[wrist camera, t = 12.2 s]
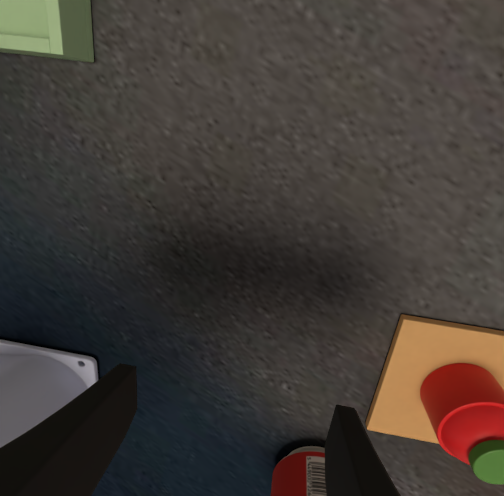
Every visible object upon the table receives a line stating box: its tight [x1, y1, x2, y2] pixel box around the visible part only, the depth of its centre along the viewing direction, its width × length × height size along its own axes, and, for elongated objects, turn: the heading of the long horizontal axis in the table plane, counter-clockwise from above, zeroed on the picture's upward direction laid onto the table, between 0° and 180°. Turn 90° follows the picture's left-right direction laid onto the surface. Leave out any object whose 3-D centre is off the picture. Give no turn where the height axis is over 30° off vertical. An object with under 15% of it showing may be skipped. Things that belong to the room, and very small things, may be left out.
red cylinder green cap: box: [420, 363, 504, 484], centre depth 19 cm, size 4×4×5 cm
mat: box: [366, 314, 504, 444], centre depth 21 cm, size 9×9×1 cm
